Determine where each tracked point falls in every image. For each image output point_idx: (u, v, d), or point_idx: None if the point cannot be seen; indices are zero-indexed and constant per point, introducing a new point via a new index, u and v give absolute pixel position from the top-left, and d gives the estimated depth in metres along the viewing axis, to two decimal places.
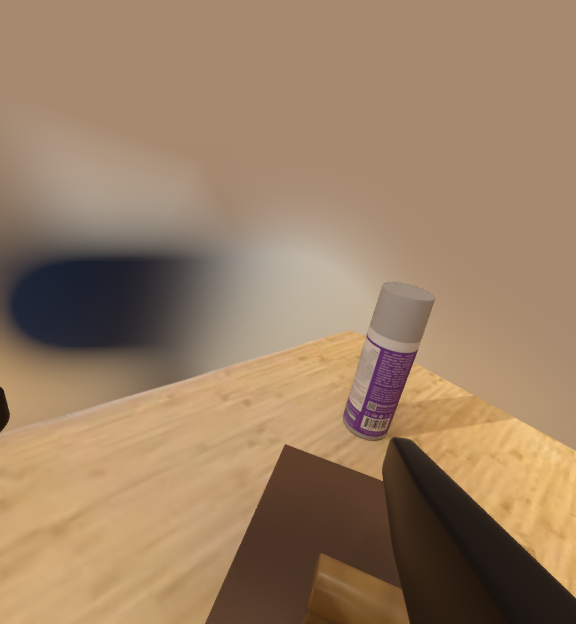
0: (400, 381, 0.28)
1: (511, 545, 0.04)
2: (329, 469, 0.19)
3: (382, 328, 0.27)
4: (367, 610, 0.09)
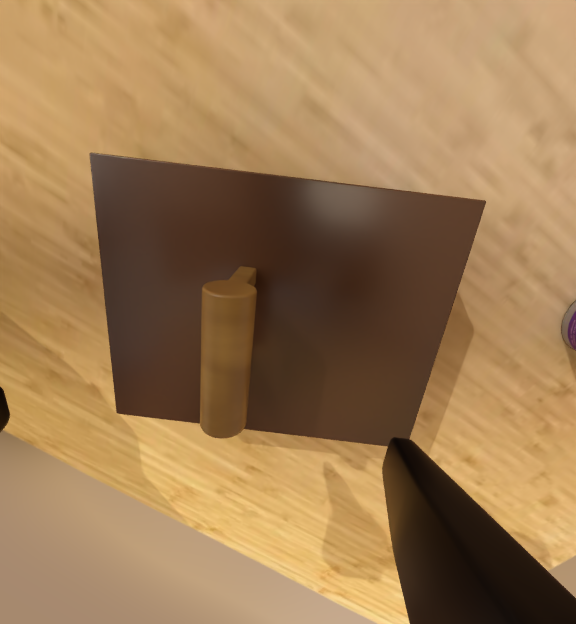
0: None
1: (511, 545, 0.04)
2: (444, 281, 0.12)
3: None
4: (207, 346, 0.09)
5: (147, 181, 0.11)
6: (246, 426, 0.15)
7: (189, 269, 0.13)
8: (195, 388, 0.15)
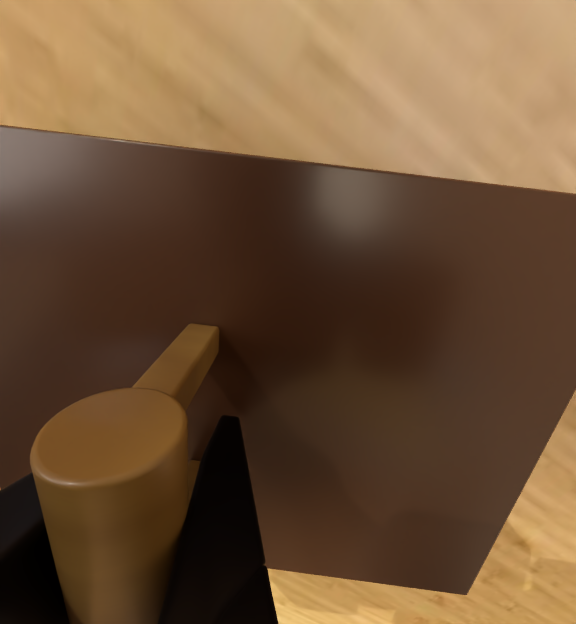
0: None
1: (245, 510, 0.04)
2: (564, 353, 0.07)
3: None
4: (59, 573, 0.04)
5: (4, 168, 0.06)
6: None
7: (101, 327, 0.07)
8: None
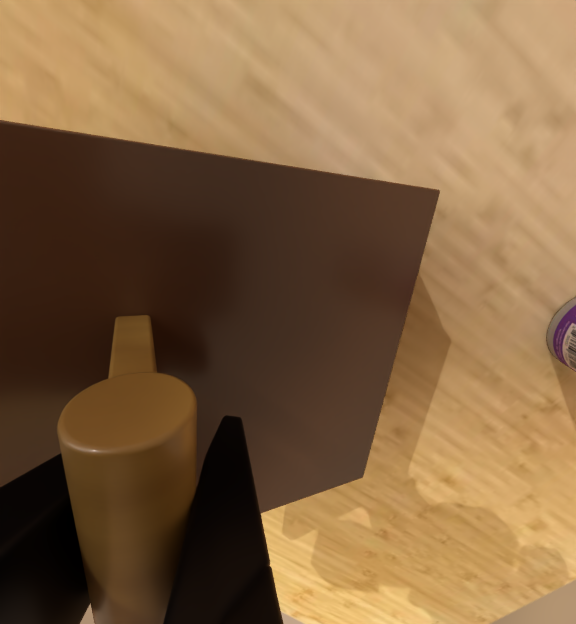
0: None
1: (248, 510, 0.04)
2: (399, 289, 0.10)
3: None
4: (100, 553, 0.04)
5: None
6: None
7: None
8: None
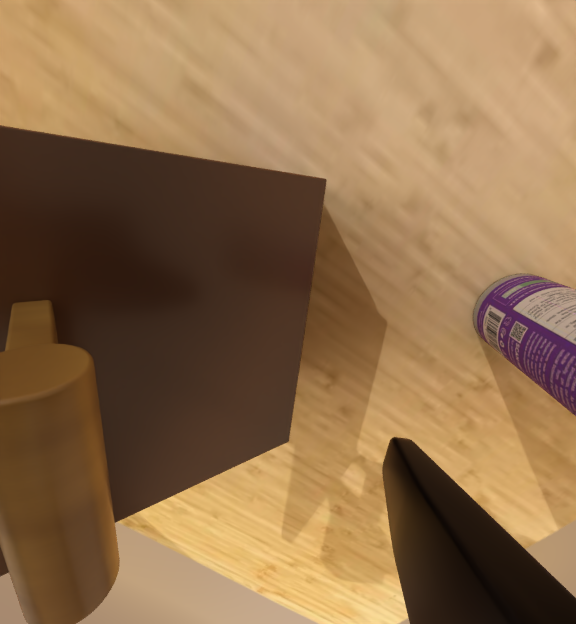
0: (565, 404, 0.13)
1: (511, 545, 0.04)
2: (301, 267, 0.11)
3: None
4: (8, 503, 0.04)
5: None
6: None
7: None
8: None
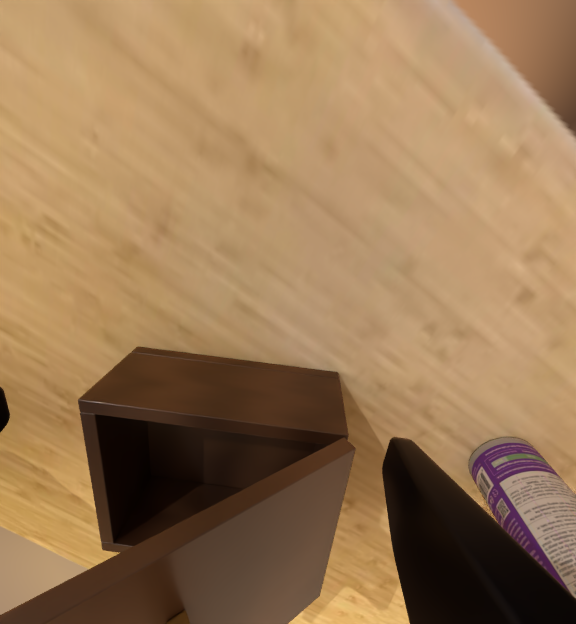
0: None
1: (511, 545, 0.04)
2: (335, 501, 0.15)
3: None
4: None
5: None
6: None
7: None
8: None
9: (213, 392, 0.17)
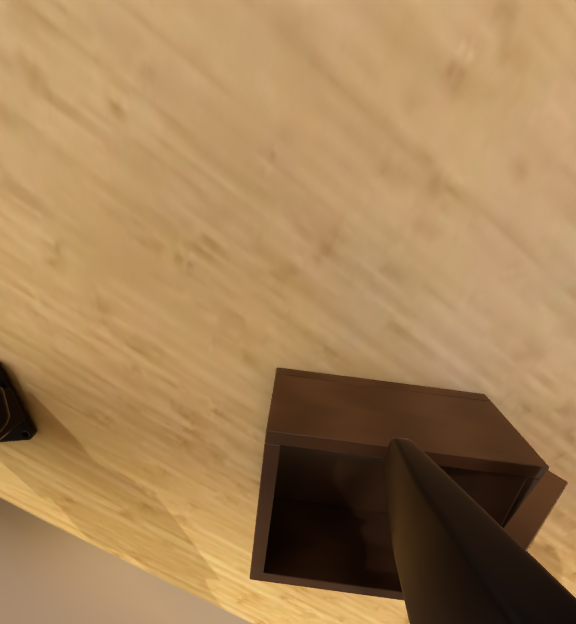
0: None
1: (511, 545, 0.04)
2: None
3: None
4: None
5: None
6: None
7: None
8: None
9: (387, 419, 0.17)
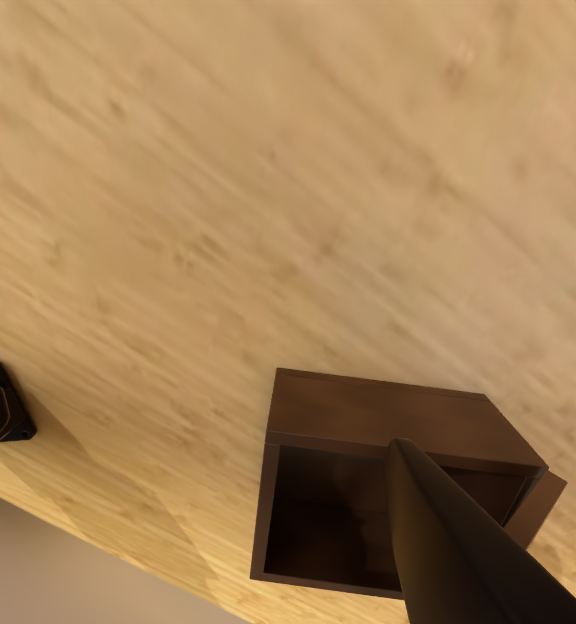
0: None
1: (511, 545, 0.04)
2: None
3: None
4: None
5: None
6: None
7: None
8: None
9: (387, 419, 0.17)
